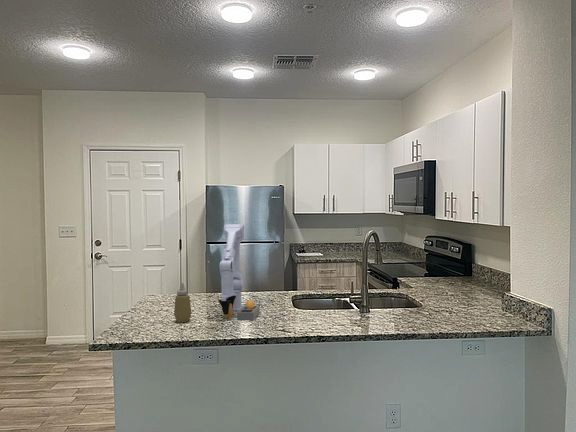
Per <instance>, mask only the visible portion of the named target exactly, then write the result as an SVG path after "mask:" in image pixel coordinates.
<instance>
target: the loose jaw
mask: <svg viewBox="0 0 576 432" xmlns="http://www.w3.org/2000/svg"><path fill="white" fill-rule="evenodd" d="M232 317H233V310H232V304H231V303H230V305H229V313H228V315H224V314H223V318H226V319H228V318H232Z"/></svg>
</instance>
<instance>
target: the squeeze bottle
mask: <svg viewBox="0 0 576 432" xmlns="http://www.w3.org/2000/svg"><path fill="white" fill-rule="evenodd" d="M176 292H177V294H176V296H174V297H175V298H174V299H175V300H174V311H173V315H174V317H175V321H176V322H177V323H186V322H187V323H188V322H189V321H190V320H191V316H192V306H191V298H190V297H191V296H190V294H188V290H187V289H186V288H185V284H184V282H180V285H179V290H177V291H176Z"/></svg>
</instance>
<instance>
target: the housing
mask: <svg viewBox="0 0 576 432" xmlns="http://www.w3.org/2000/svg"><path fill="white" fill-rule="evenodd" d="M242 306H243V307H242V308H241V309H240V310H237V312H236V320H237V321H255V319H256V318H257V317H258V316H259V314H260V313H261V311H260V307H261V306H260V305H255V300H246V301H245V305H242Z"/></svg>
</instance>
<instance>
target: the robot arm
mask: <svg viewBox="0 0 576 432" xmlns="http://www.w3.org/2000/svg"><path fill="white" fill-rule="evenodd" d="M223 234H224V237H225V239H226V247H225V248H224V249H223V252H222V258H221V261H219V275H220V277H221V278H220V279H221V284H220V285H221V287H220V288H221V294H220V295H221V296H220V297H221V298H220V299H219V300H218V303H219V305H220V306H221V310H222V314H223V316H224V315H228V313H229V305H230V303H231V304H232V311H239V310H240V309H241V308H242V307H243V306H244V305H242V291H244V288H245V278H244V276H243V274H241V273H240V272H239V270H240V269H239V268H240V245H241V242H242V241H244V237H245V227H244V224H243V223H225V224H224V226H223Z"/></svg>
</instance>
